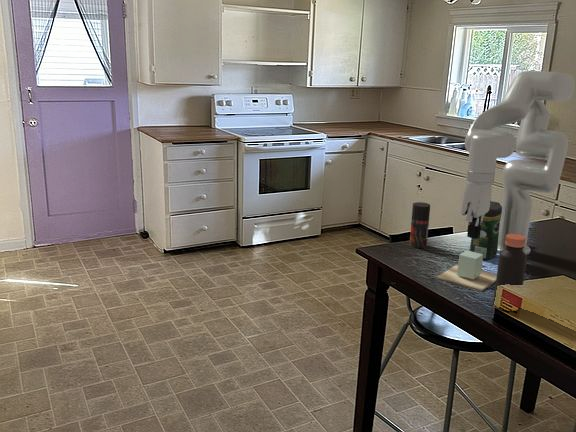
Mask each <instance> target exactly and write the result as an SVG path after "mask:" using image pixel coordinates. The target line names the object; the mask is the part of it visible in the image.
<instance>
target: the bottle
mask: <svg viewBox="0 0 576 432" xmlns="http://www.w3.org/2000/svg"><path fill="white" fill-rule="evenodd" d="M525 241H526V238H525V237H524V236H522V235H518V234H507V235H506V237H505V246H506V248H505V249H504V250H502V251H501V252H500V253H499V257H498V263H497V264H498V265H497V271H496V275H497V278H496V281H495V284H494V285H495V286H494V287H495V288H494V295H493V302H492V305H493V306H494V301H495V297H496V290H497V286H498V285H505V284H510V285H523V286H524V282H525V273H526V268H527V267H526V265H527V259H528V255H526V254H525V253H524V252H523V248H524V246H525Z"/></svg>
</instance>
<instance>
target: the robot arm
mask: <svg viewBox="0 0 576 432" xmlns="http://www.w3.org/2000/svg"><path fill="white" fill-rule="evenodd" d="M575 87H576V82H575V79H574V77H573V75H571V74H568V73H563V72H558V71H541V70H540V71H539V70H525V71H521V72H519V73H517V74H516V76H514V78H513V80H512V82H511V84H510V85H509V87H508V89H507V90H506V93H505V94H504V96H503V98H502V100H501V102H500V103H497V104H496V105H493V106H491V107H490V108H488V109H487V110H485V111H483V112H482V113H480V114H479V115H477V117H476V118H475V119H474V120H473V122H472V124H471V125H470V127H469V129H468V131H467V133H466V134H465V135H466V136H465V139H464V147H465V150H466V152H468V162H467V163H468V164H467V170H466V171H467V172H466V178H465V179H466V184H465V188H464V191H463V196H462V197H463V198H462V204H461V211H460V215H462V216H466V218H465V221H466V222H467V225H468V226H467V232H466V233H467V238H470V239H471V238H474V239H478V238H480V231H481V224H482V220H483V216H484V215H485V213H487V212H488V211H489V208H490V201H492V200H491V199H492V185H494V183H495V182H494V181H495V174H496V165H497V159H505V158H509V157H511V155H513V154H514V152H515V153H516V154H517V155H519V156H520V157H525V158H531V159H532V158H534V159H538V160H539V159H540V160H546V162H539V161H534V160H526V159H524V160H523V159H512V160H509V161H507V162H506V164H505V165H504V166H503V169H502V188H503V189H502V190H503V191H502V201H501V206H502V215H501V220H500V226H499V236H498V249H497V253H499V254H500V252H501V251H502V250H504V249H505V248H506V246H505V237H506V235H507V234H518V235H522V236H524V237H525V238H526V241H525V246H524V248H523V252H524V253H525V254H526V255H527V256H528V255H529V254H530V253H531V248H530V247H529V246H528V245H527V242H528V237H529V236H528V235H529V228H530V222H531V214H532V208H533V200H532V197H531V194H530V193H529V191H531V192H537V193H543V194H544V193H545V194H551V193H553V192H555V191H556V190H557V188H558V186H559V183H560V180H561V176H562V172H563V169H564V165H565V160H566V156H567V152H568V148H569V138H568V136H567V134H565V133H564V132H562V131H559V130H550V129H549V130H548V127H549V123H550V120H551V115H550V112H549V109H548V107H547V106H546V105H545V103H544V102H543V101H552V102H567V101H569V100H570V99H571V98H572V96H573V94H574V92H575V89H576V88H575ZM518 122H520V124H519V128H518V132H517V135H516V136H515V135H513V134H512V133H511V132H509V131H508V132H507V131H501V130H492V129H495V128H498V127H502V126H505V125H506V126H507V125H510V124H514V123H518Z"/></svg>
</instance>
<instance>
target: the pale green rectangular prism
mask: <svg viewBox="0 0 576 432" xmlns="http://www.w3.org/2000/svg"><path fill="white" fill-rule="evenodd" d="M458 256H459V257H458V263H457V264H458V272H457V275H459V276H462V277H466V278H469V279H473V280H474V279H475V278H477V277H478V276H480V275H481V271H482V267H483V260H484V259H483V254H480V253H476V252H472V251H470V250H468V249H467V250H465V251H462V252H461V253H460V254H459V255H458Z"/></svg>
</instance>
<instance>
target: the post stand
mask: <svg viewBox="0 0 576 432" xmlns="http://www.w3.org/2000/svg"><path fill="white" fill-rule="evenodd" d="M457 272H458V263H457V264H455V265H453V266H452V267H451V268H449V269H447V270H446V271H444V272H442V273H440V274H439V275H436V279H437V280H442V281H445V282H448V283H451V284H455V285H458V286H462V287H464V288H468V289H471V290H474V291H479V292H483V291H484V290H485V289H486V290H487V288H489V287H490V286H491V285H493V284H494V283H496V278H497V273H496V274H495V273H491V272H489V271H484V270H481V275H480V276H478V277H477V278H475V279H474V280H473V279H469V278H466V277H462V276H459V275H457Z"/></svg>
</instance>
